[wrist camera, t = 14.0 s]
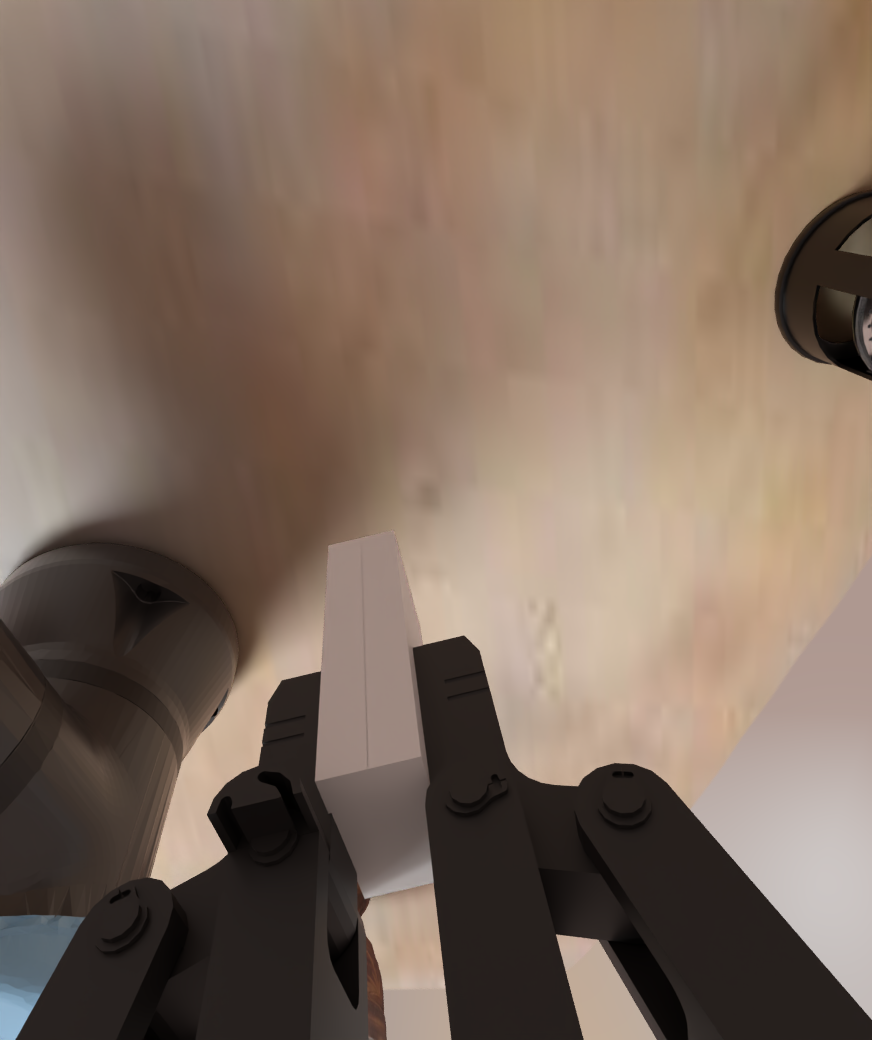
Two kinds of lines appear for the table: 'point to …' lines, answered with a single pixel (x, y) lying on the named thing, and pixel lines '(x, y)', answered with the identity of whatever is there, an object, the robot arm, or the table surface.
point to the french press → (828, 286)
